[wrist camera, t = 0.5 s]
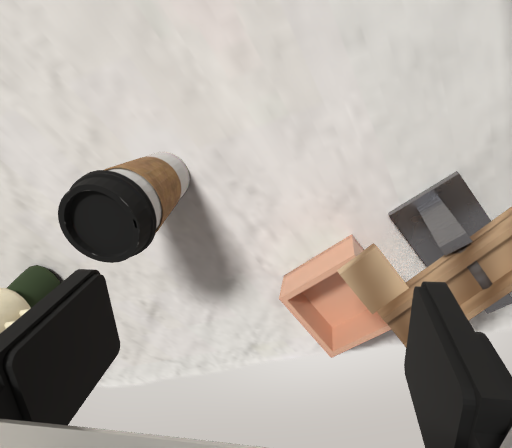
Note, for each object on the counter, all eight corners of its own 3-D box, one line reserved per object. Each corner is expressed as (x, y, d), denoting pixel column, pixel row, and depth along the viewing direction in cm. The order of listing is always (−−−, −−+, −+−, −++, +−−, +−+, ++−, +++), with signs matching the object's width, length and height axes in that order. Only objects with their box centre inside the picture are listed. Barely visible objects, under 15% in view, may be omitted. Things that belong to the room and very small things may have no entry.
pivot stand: (456, 171, 39) (494, 206, 30) (504, 242, 41) (553, 294, 32) (388, 213, 42) (404, 256, 33) (435, 276, 44) (462, 333, 35)
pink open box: (351, 234, 44) (354, 254, 39) (400, 295, 46) (407, 321, 41) (283, 275, 48) (279, 298, 43) (331, 330, 50) (331, 357, 45)
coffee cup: (206, 205, 46) (155, 267, 32) (144, 211, 47) (70, 272, 34) (191, 136, 42) (126, 173, 29) (124, 145, 44) (35, 184, 31)
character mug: (29, 306, 58) (-46, 368, 46) (6, 266, 56) (-80, 322, 44) (87, 296, 55) (22, 360, 44) (65, 254, 53) (-11, 311, 41)
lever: (514, 136, 31) (542, 137, 28) (569, 225, 33) (600, 235, 30) (336, 269, 34) (345, 283, 31) (397, 344, 36) (411, 363, 33)
